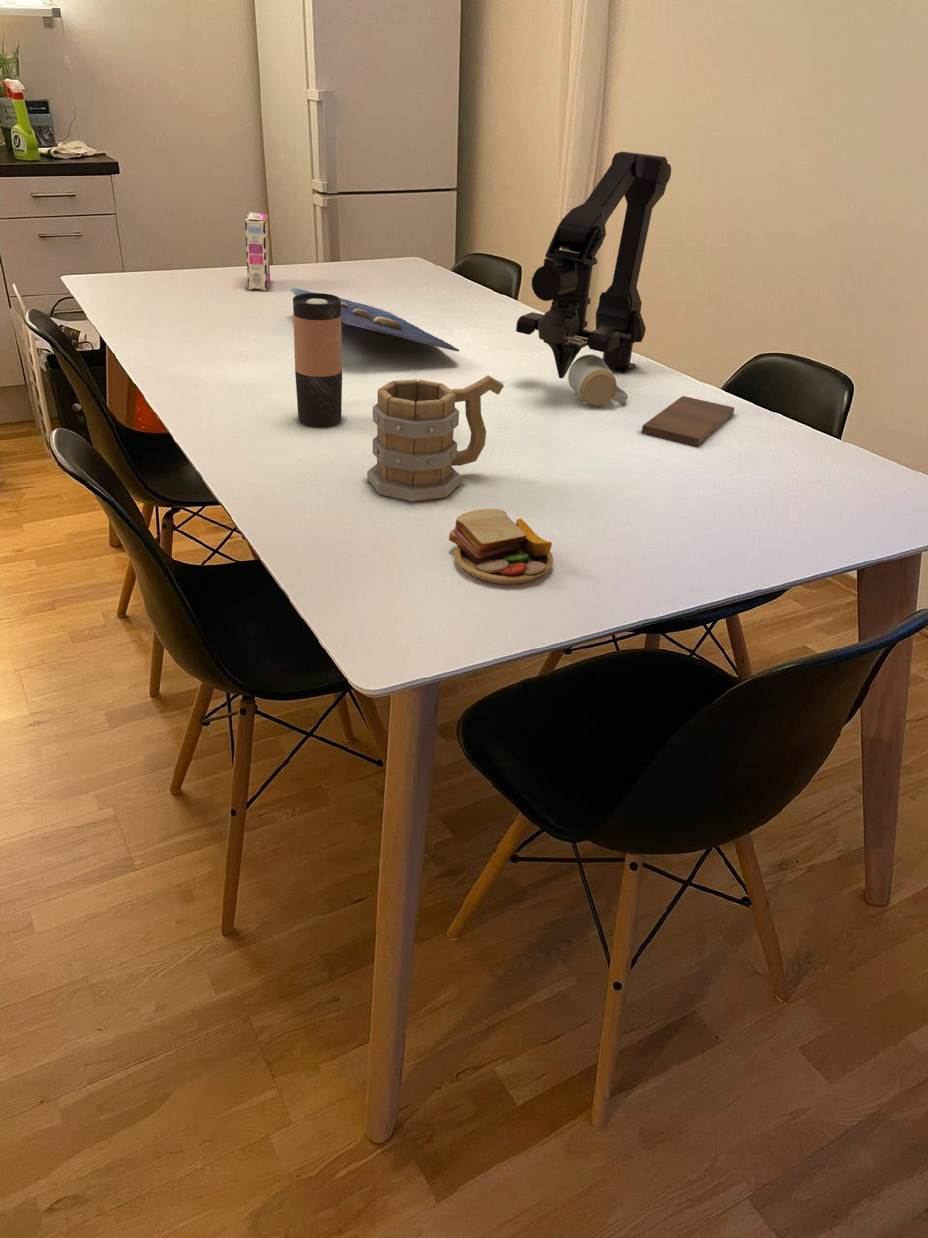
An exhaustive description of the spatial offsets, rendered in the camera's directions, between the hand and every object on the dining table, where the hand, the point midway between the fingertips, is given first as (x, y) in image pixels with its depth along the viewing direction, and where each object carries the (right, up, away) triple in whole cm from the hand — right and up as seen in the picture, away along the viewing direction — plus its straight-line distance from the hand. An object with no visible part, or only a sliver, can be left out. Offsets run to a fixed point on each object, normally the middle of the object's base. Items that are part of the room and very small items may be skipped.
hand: (561, 377), depth 179 cm
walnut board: (+22, -11, -10) cm, 26 cm away
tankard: (-22, -25, -37) cm, 50 cm away
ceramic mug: (+6, -5, -2) cm, 8 cm away
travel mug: (-43, -12, -18) cm, 48 cm away
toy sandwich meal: (-14, -38, -58) cm, 71 cm away
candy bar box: (-70, +38, +60) cm, 99 cm away
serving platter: (-40, +14, +24) cm, 48 cm away
